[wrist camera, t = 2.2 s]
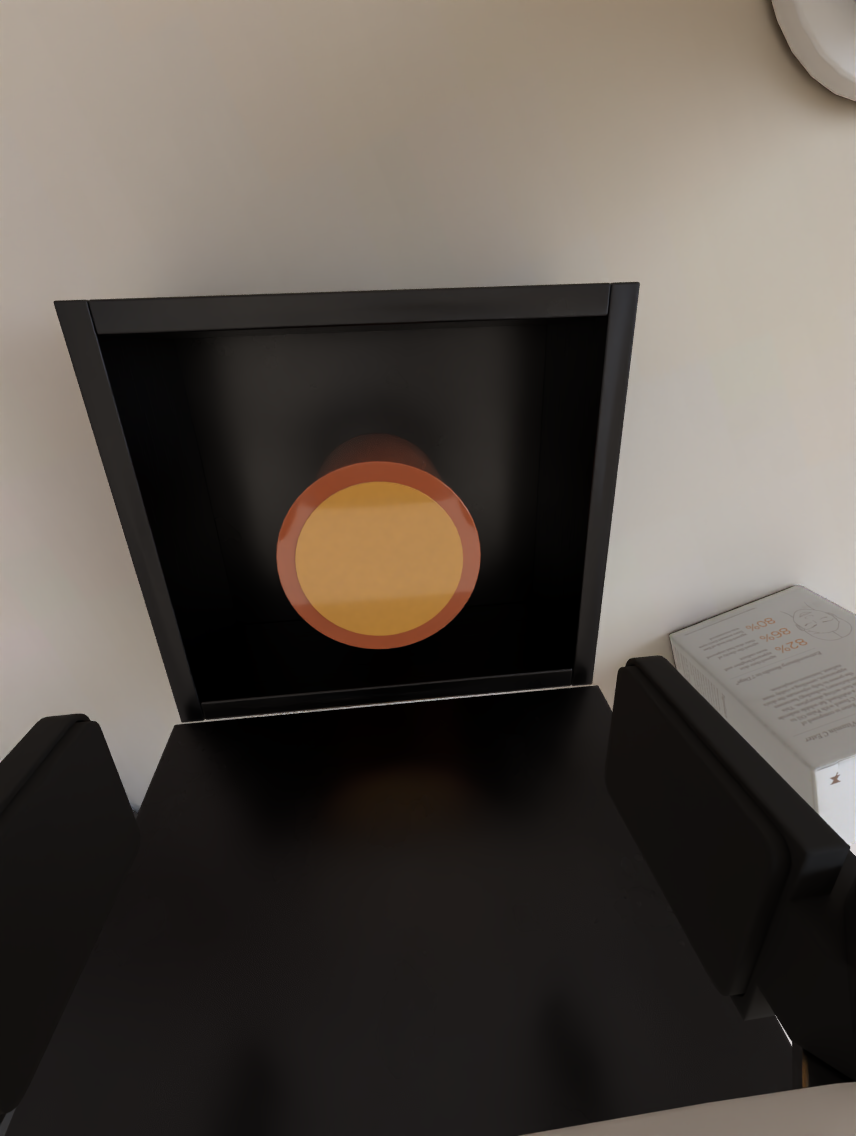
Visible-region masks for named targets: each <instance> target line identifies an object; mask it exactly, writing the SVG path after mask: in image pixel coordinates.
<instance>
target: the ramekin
mask: <svg viewBox="0 0 856 1136" xmlns="http://www.w3.org/2000/svg"><path fill="white" fill-rule="evenodd" d="M480 559H481V552H480V541H479V536H478V532H477V529H476V526H475V523H474V520H473V518H472V516H471V515H470V513H469V511H468V509H467V507H466V506H465V504H464V503H463V501H462V500H461V499H460V497H459V496H458V495H457V494H456V493H455V492H454V491H453V490H452V489H451V488H450V487H449V486H448V485H447V484H446V483H444V482H443V480H442V478H441V476H440V474H439V472H438V470H437V468H436V467H435V465H434V463H433V462H432V460H431V459H430V458H429V456H428V455H427V454H426V453H425V452H424V451H423V450H422V449H420V448H419V447H418V446H417V445H415V444H413V443H412V442H410V441H408V440H406V439H404V438H402V437H399V436H395V435H392V434H385V433H370V434H363V435H359V436H356V437H353V438H351V439H348V440H347V441H345V442H343V443H341V444H340V445H338V446H337V447H336V448H335V449H333V450H332V451H331V452H330V453H329V454H328V456H327V457H326V458H325V459H324V461H323V462H322V464H321V466H320V468H319V469H318V471H317V474H316V476H315V478H314V480H313V482H312V483H311V484H310V485H309V486H308V487H307V488H306V489H305V490H304V491H303V492H302V493H301V494H300V495H299V496H298V497H297V499H296V500H295V501H294V503H293V504H292V505H291V507H290V509H289V511H288V513H287V515H286V516H285V518H284V520H283V523H282V526H281V529H280V532H279V536H278V541H277V551H276V561H277V570H278V574H279V578H280V582H281V585H282V587H283V590H284V592H285V594H286V596H287V598H288V600H289V601H290V603H291V605H292V606H293V607H294V609H295V610H296V611H297V612H298V614H299V615H300V616H301V617H302V618H303V619H304V620H305V621H306V622H307V623H308V624H309V625H311V626H312V627H313V628H315V629H316V630H317V631H319V632H320V633H322V634H324V635H325V636H327V637H329V638H331V639H334V640H336V641H338V642H341V643H344V644H347V645H350V646H355V647H360V648H368V649H390V648H397V647H402V646H406V645H410V644H413V643H416V642H418V641H421V640H423V639H425V638H427V637H429V636H431V635H433V634H435V633H436V632H438V631H439V630H441V629H442V628H444V627H445V626H446V625H447V624H448V623H449V622H451V621H452V620H453V619H454V618H455V617H456V616H457V614H458V613H459V612H460V611H461V610H462V608H463V607H464V605H465V604H466V603H467V601H468V599H469V597H470V596H471V594H472V592H473V590H474V587H475V584H476V581H477V578H478V574H479V569H480Z"/></svg>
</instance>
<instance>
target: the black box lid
mask: <svg viewBox="0 0 856 1136" xmlns="http://www.w3.org/2000/svg"><path fill="white" fill-rule="evenodd" d="M611 720H612V710H611V709H610V707H609V705H608V703H607V701H606V699H605V697H604V695H603V694H602V692H601V690H600V688H599V686H597V685H596V686H586V687H575V688H564V689H554V690H543V691H532V692H521V693H511V694H500V695H489V696H479V697H468V698H457V699H446V700H436V701H425V702H414V703H404V704H393V705H382V706H371V707H361V708H350V709H339V710H329V711H318V712H307V713H297V714H286V715H275V716H264V717H254V718H243V719H232V720H222V721H211V722H200V723H189V724H179V725H175V726H174V728H173V730H172V732H171V735H170V737H169V740H168V742H167V744H166V747H165V749H164V752H163V754H162V756H161V759H160V761H159V764H158V766H157V769H156V771H155V773H154V776H153V778H152V781H151V783H150V785H149V788H148V790H147V793H146V795H145V797H144V800H143V802H142V805H141V807H140V809H139V812H138V814H137V817H136V821H137V824H138V827H139V830H140V846H139V850H138V852H137V855H136V857H135V859H134V861H133V864H132V866H131V868H130V870H129V872H128V874H127V877H126V879H125V881H124V883H123V885H122V887H121V889H120V892H119V894H118V896H117V898H116V900H115V902H114V904H113V907H112V909H111V911H110V913H109V915H108V917H107V920H106V922H105V924H104V926H103V928H102V930H101V932H100V935H99V937H98V939H97V941H96V943H95V945H94V948H93V950H92V952H91V954H90V956H89V958H88V960H87V963H86V965H85V967H84V969H83V971H82V973H81V975H80V978H79V980H78V982H77V984H76V986H75V988H74V991H73V993H72V995H71V997H70V999H69V1001H68V1003H67V1006H66V1008H65V1010H64V1012H63V1014H62V1016H61V1018H60V1021H59V1023H58V1025H57V1027H56V1029H55V1031H54V1034H53V1036H52V1038H51V1040H50V1042H49V1044H48V1046H47V1049H46V1051H45V1053H44V1055H43V1057H42V1059H41V1061H40V1064H39V1066H38V1068H37V1070H36V1072H35V1074H34V1077H33V1079H32V1081H31V1083H30V1085H29V1087H28V1089H27V1091H26V1093H25V1095H24V1097H23V1099H22V1100H21V1102H20V1103H19V1104H18V1106H17V1107H16V1108H15V1110H14V1113H13V1115H12V1117H11V1120H10V1122H9V1125H8V1127H7V1129H6V1132H5V1134H4V1136H520V1135H526V1134H532V1133H538V1132H543V1131H549V1130H555V1129H561V1128H566V1127H572V1126H578V1125H583V1124H589V1123H595V1122H601V1121H606V1120H612V1119H618V1118H623V1117H629V1116H635V1115H641V1114H646V1113H652V1112H658V1111H663V1110H669V1109H675V1108H681V1107H686V1106H692V1105H698V1104H704V1103H710V1102H716V1101H723V1100H730V1099H736V1098H743V1097H750V1096H756V1095H763V1094H770V1093H776V1092H783V1091H790V1090H792V1046H791V1044H790V1042H789V1040H788V1038H787V1036H786V1035H785V1033H784V1031H783V1029H782V1027H781V1025H780V1023H779V1021H778V1020H777V1018H776V1016H770V1017H764V1018H758V1019H752V1020H746V1021H743V1019H742V1017H741V1015H740V1013H739V1012H738V1010H737V1008H736V1006H735V1005H734V1003H733V1001H732V999H731V998H730V996H723V995H722V994H720V993H719V992H718V990H717V989H716V988H715V986H714V985H713V983H712V982H711V980H710V978H709V976H708V975H707V973H706V971H705V969H704V967H703V965H702V964H701V962H700V960H699V958H698V956H697V954H696V953H695V951H694V949H693V947H692V945H691V944H690V942H689V940H688V938H687V936H686V934H685V933H684V931H683V929H682V927H681V925H680V923H679V922H678V920H677V918H676V916H675V914H674V912H673V911H672V909H671V907H670V905H669V903H668V902H667V900H666V898H665V896H664V894H663V892H662V891H661V889H660V887H659V885H658V883H657V881H656V880H655V878H654V876H653V874H652V872H651V871H650V869H649V867H648V865H647V863H646V861H645V860H644V858H643V856H642V854H641V852H640V850H639V849H638V847H637V845H636V843H635V841H634V839H633V838H632V836H631V834H630V832H629V830H628V829H627V827H626V825H625V823H624V821H623V819H622V818H621V816H620V814H619V812H618V810H617V808H616V807H615V805H614V803H613V801H612V799H611V798H610V796H609V793H608V791H607V788H606V784H605V778H604V773H605V765H606V758H607V750H608V742H609V735H610V727H611Z"/></svg>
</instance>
